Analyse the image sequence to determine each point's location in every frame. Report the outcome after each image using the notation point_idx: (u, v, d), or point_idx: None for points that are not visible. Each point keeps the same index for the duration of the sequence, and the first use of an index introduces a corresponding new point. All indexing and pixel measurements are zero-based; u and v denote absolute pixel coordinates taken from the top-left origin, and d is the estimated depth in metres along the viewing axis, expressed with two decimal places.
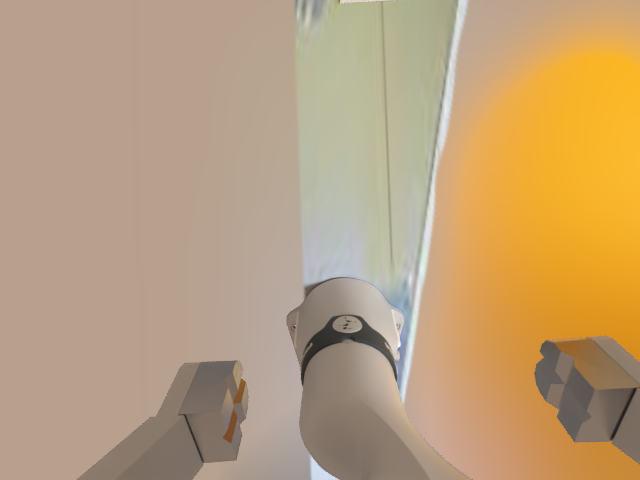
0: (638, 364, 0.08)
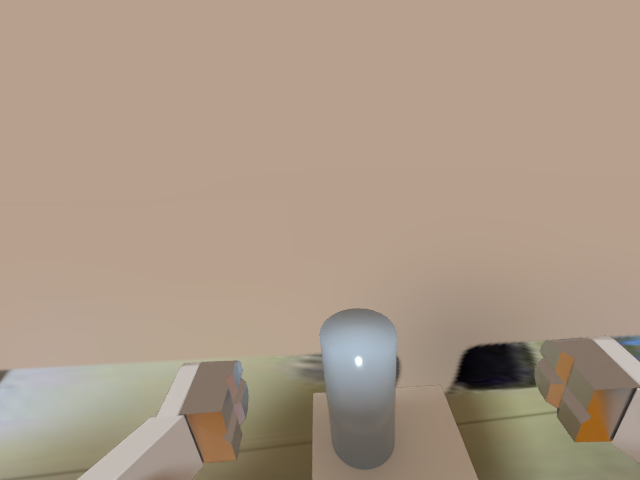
0: (638, 364, 0.08)
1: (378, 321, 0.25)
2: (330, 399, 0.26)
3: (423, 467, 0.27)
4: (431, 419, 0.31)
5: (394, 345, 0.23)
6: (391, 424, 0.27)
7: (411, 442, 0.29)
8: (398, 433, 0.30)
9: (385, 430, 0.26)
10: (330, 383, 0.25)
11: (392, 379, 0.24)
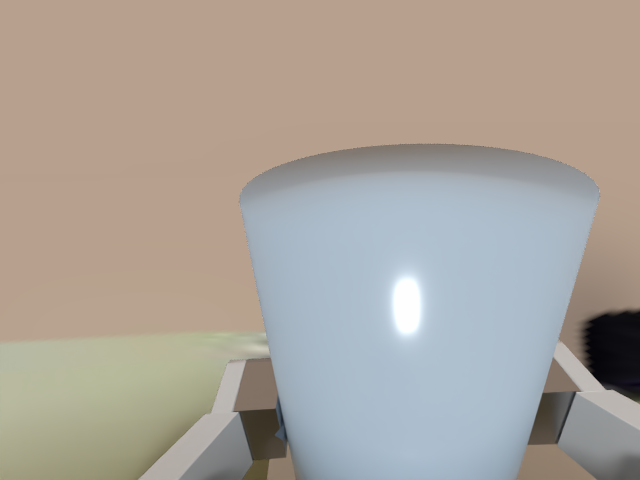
0: (583, 367, 0.08)
1: (471, 155, 0.07)
2: (292, 444, 0.07)
3: None
4: (567, 479, 0.12)
5: None
6: None
7: None
8: None
9: None
10: (286, 387, 0.06)
11: (547, 371, 0.06)
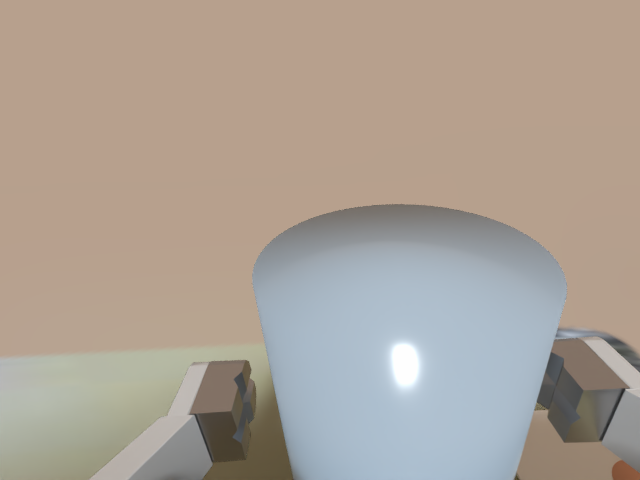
0: (627, 364, 0.08)
1: (460, 227, 0.07)
2: None
3: None
4: None
5: None
6: None
7: None
8: None
9: None
10: (293, 443, 0.07)
11: (527, 431, 0.06)
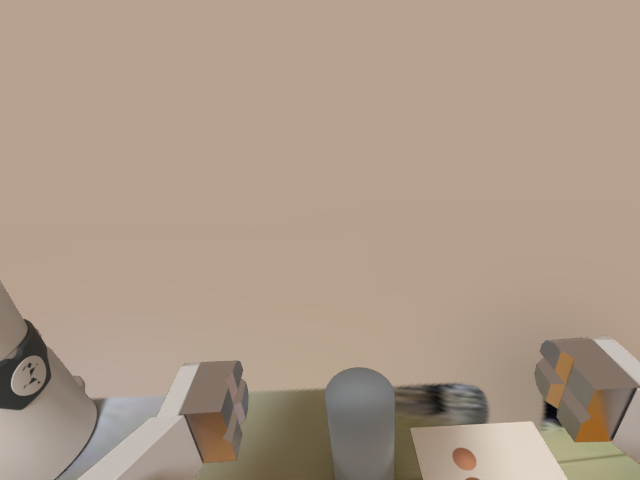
0: (638, 364, 0.08)
1: (378, 383, 0.28)
2: (334, 453, 0.28)
3: None
4: (532, 457, 0.33)
5: (392, 410, 0.26)
6: (390, 475, 0.29)
7: None
8: (503, 471, 0.32)
9: None
10: (334, 441, 0.27)
11: (391, 438, 0.27)
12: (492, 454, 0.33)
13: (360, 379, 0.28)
